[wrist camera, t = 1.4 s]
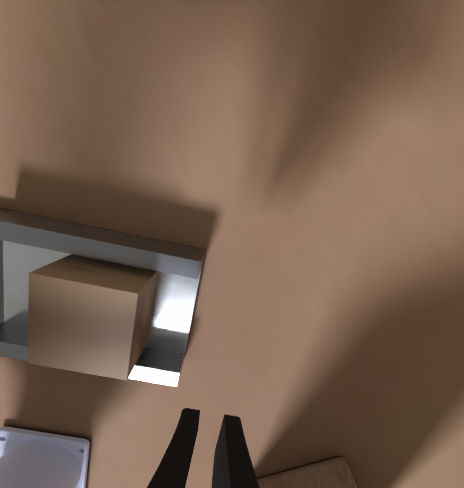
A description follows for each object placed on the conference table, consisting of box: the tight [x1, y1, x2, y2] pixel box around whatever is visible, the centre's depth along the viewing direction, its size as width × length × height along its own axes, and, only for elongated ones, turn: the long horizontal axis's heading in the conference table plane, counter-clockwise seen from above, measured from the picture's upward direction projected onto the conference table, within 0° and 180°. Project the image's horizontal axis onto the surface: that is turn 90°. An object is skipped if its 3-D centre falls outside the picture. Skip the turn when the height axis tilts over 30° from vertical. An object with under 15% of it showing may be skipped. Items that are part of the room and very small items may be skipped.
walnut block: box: [28, 254, 159, 380], centre depth 16 cm, size 6×6×4 cm
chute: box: [0, 208, 206, 387], centre depth 17 cm, size 10×24×3 cm, turn 78°
